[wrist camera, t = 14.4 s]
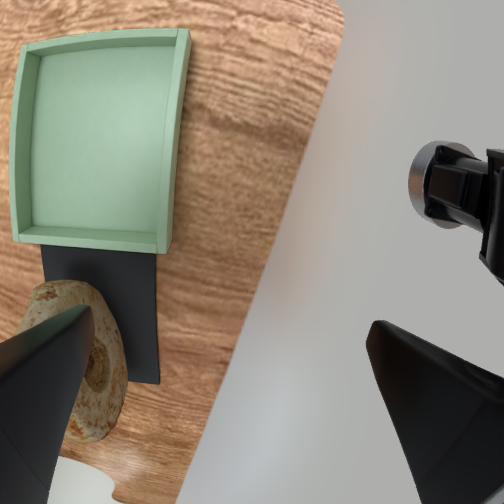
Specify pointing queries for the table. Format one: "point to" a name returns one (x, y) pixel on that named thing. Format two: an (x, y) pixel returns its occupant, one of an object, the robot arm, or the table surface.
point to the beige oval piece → (99, 363)
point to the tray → (98, 139)
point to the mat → (117, 297)
